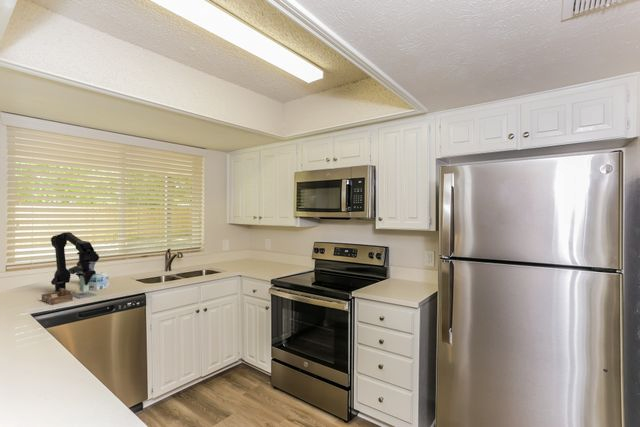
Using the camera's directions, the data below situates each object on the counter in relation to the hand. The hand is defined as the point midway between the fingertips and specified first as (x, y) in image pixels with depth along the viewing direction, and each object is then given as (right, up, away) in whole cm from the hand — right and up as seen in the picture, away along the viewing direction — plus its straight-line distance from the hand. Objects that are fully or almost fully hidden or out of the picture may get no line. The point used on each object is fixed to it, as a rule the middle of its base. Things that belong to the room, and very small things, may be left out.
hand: (84, 284), depth 217 cm
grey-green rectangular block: (0, -4, 0) cm, 4 cm away
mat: (0, -7, 0) cm, 7 cm away
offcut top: (-8, -6, -14) cm, 17 cm away
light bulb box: (-3, -8, +20) cm, 21 cm away
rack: (-8, -8, -13) cm, 17 cm away
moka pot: (-22, -7, +32) cm, 40 cm away
